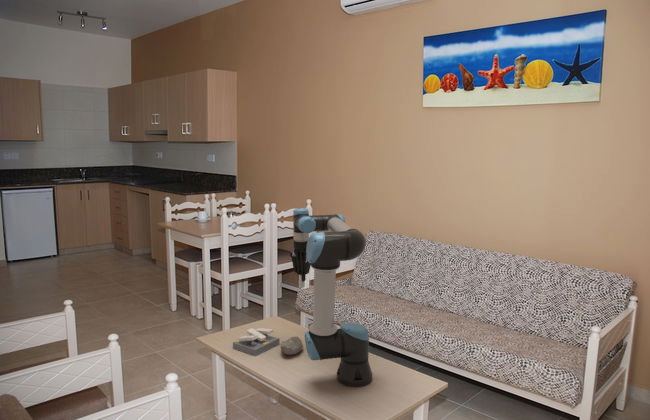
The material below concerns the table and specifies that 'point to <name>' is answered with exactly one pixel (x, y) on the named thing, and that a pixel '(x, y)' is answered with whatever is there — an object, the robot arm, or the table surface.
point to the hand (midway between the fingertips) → (301, 287)
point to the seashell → (291, 346)
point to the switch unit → (256, 345)
